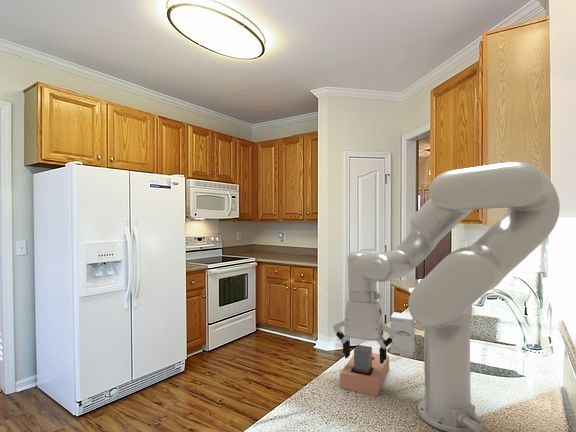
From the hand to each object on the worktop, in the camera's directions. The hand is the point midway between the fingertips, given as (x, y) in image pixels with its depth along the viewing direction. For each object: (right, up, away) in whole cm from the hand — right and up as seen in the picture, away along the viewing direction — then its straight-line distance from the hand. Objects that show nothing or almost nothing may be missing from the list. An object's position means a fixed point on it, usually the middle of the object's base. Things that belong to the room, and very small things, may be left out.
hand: (364, 359), depth 90 cm
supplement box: (+19, -8, +24) cm, 32 cm away
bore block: (+1, -7, +4) cm, 9 cm away
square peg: (0, -7, 0) cm, 7 cm away
